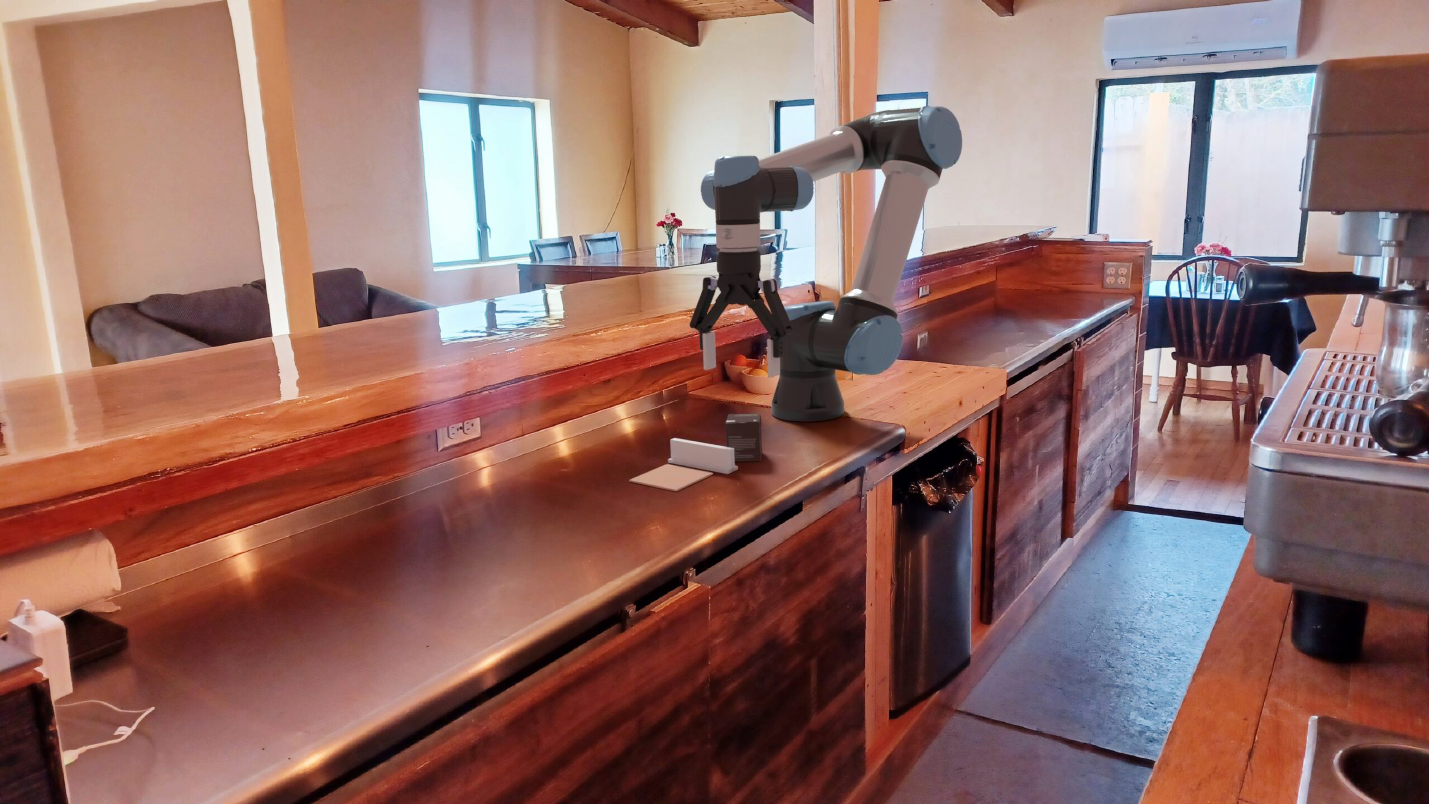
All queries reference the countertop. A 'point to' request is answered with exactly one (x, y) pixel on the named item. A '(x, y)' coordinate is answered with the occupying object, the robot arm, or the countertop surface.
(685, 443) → the divider wall
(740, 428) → the box
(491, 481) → the countertop surface
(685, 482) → the pad
